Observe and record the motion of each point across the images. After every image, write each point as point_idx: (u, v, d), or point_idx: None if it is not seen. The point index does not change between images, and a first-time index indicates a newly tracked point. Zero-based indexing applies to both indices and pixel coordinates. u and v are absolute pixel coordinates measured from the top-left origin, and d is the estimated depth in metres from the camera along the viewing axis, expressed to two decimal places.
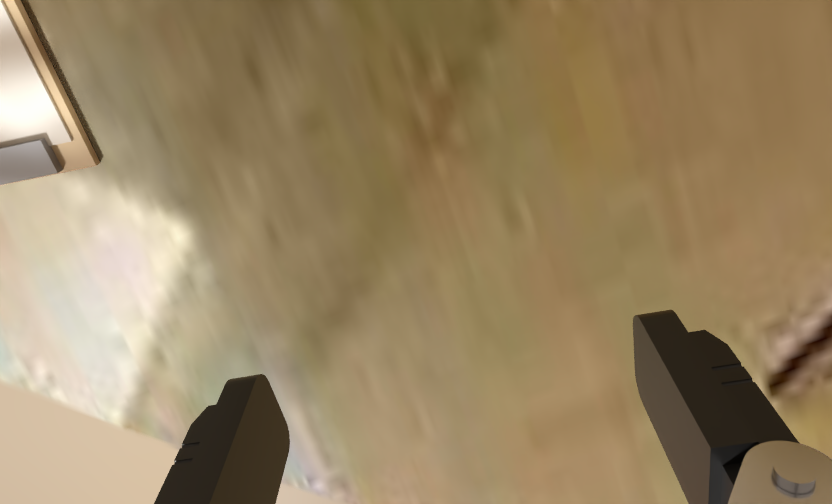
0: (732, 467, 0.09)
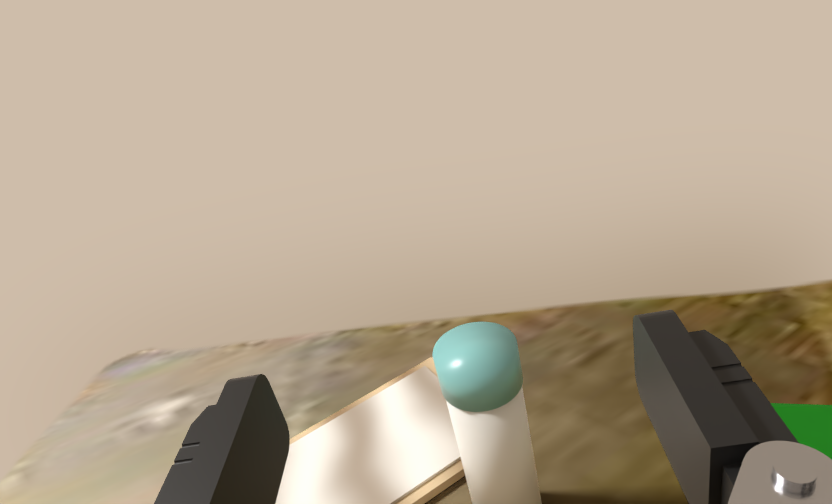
0: (732, 467, 0.09)
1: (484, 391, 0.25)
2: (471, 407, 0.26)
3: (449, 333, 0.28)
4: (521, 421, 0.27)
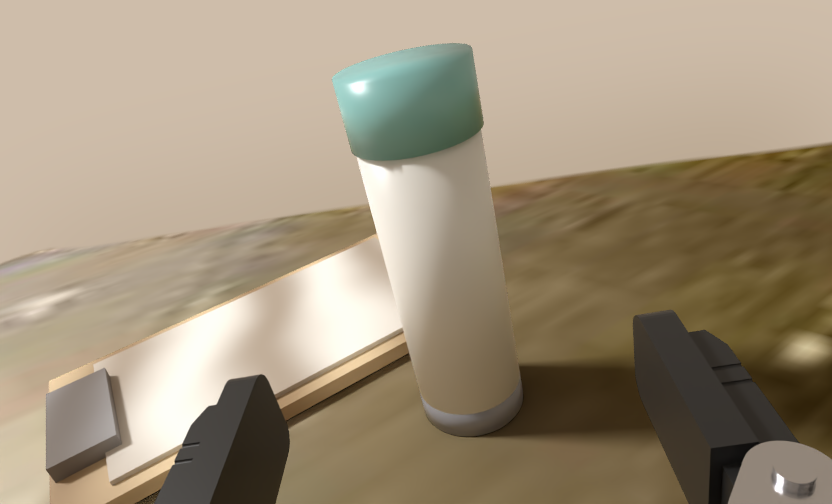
0: (732, 467, 0.09)
1: (411, 113, 0.14)
2: (392, 151, 0.15)
3: (367, 60, 0.17)
4: (481, 198, 0.16)
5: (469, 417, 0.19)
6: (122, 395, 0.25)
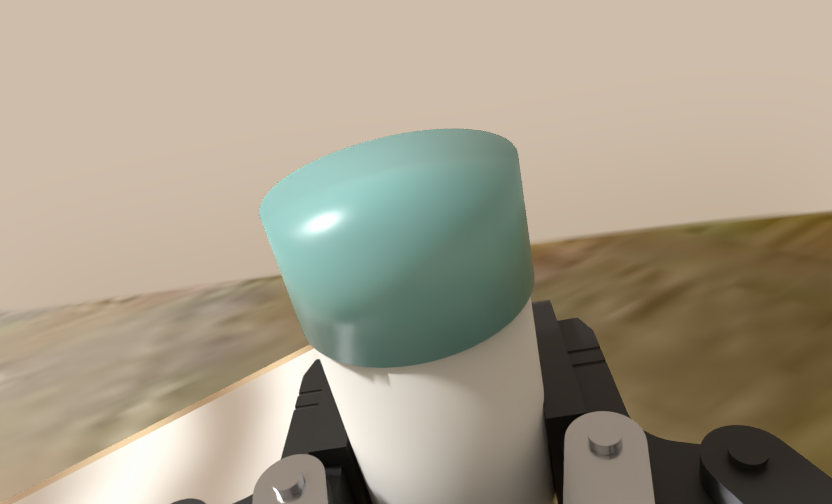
0: None
1: (406, 295, 0.07)
2: (368, 353, 0.08)
3: (330, 157, 0.10)
4: (529, 404, 0.09)
5: None
6: None
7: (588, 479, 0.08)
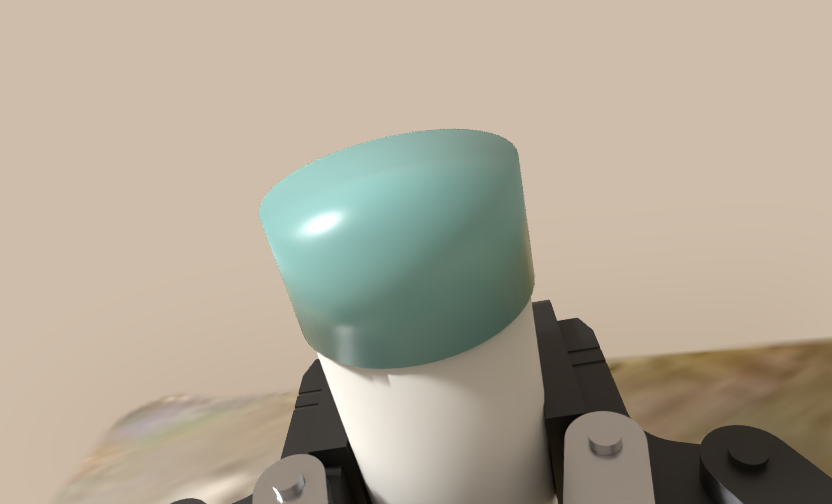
0: None
1: (405, 297, 0.07)
2: (368, 354, 0.08)
3: (330, 157, 0.10)
4: (529, 405, 0.09)
5: None
6: None
7: (588, 479, 0.08)
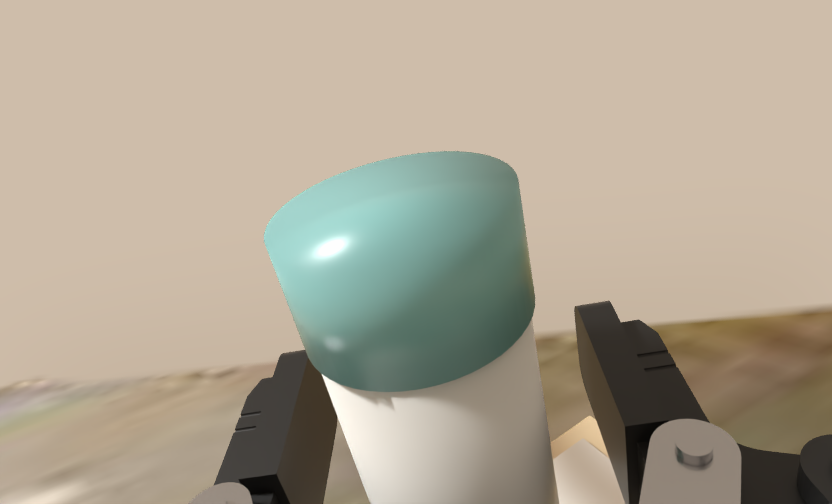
0: (646, 444, 0.09)
1: (408, 322, 0.07)
2: (372, 377, 0.08)
3: (333, 180, 0.10)
4: (531, 424, 0.09)
5: None
6: None
7: (682, 492, 0.08)
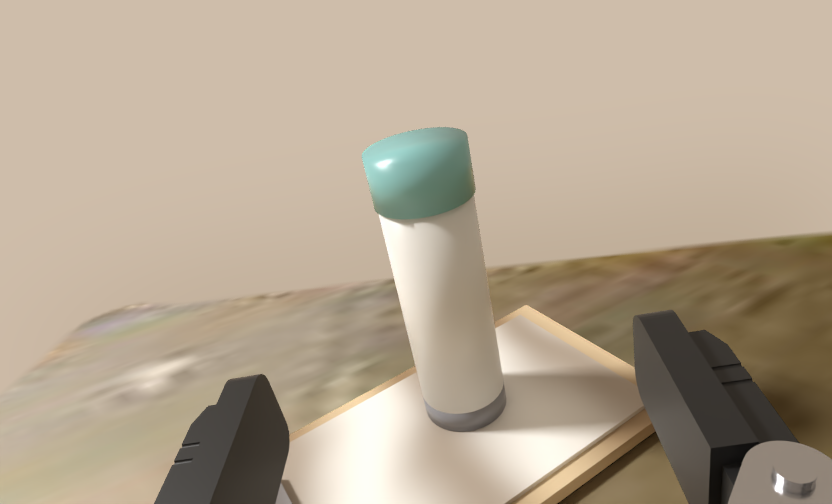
0: (732, 467, 0.09)
1: (422, 187, 0.20)
2: (406, 212, 0.20)
3: (387, 139, 0.22)
4: (473, 246, 0.22)
5: (462, 415, 0.24)
6: None
7: None
